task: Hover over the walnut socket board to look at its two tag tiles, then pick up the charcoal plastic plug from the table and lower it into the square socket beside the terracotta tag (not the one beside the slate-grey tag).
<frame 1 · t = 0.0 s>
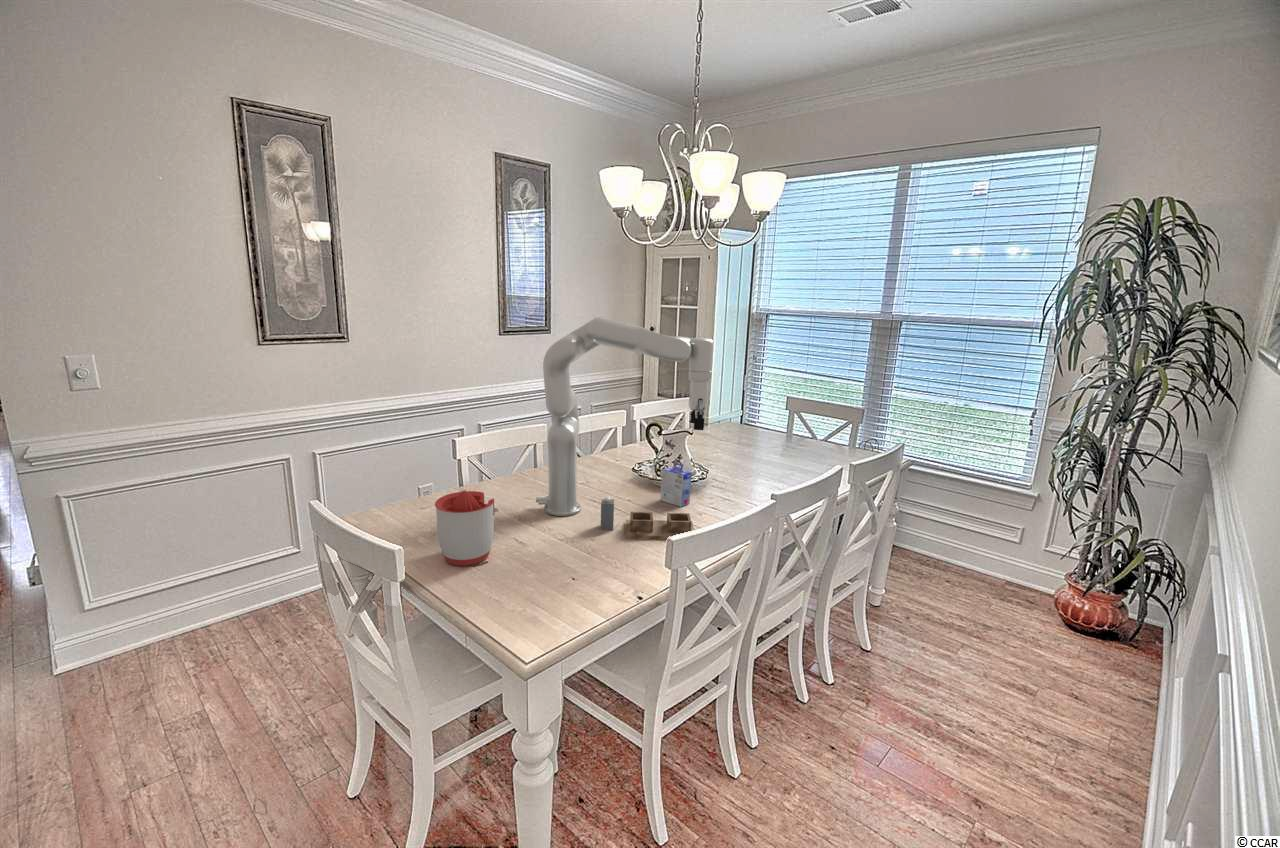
hand: (696, 426, 188), 31 cm above the table, fingers open, 9 cm apart
citrus juicer: (470, 556, 159), on the table
socket board: (659, 531, 180), on the table
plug: (607, 527, 181), on the table
ink cartridge box: (675, 502, 205), on the table
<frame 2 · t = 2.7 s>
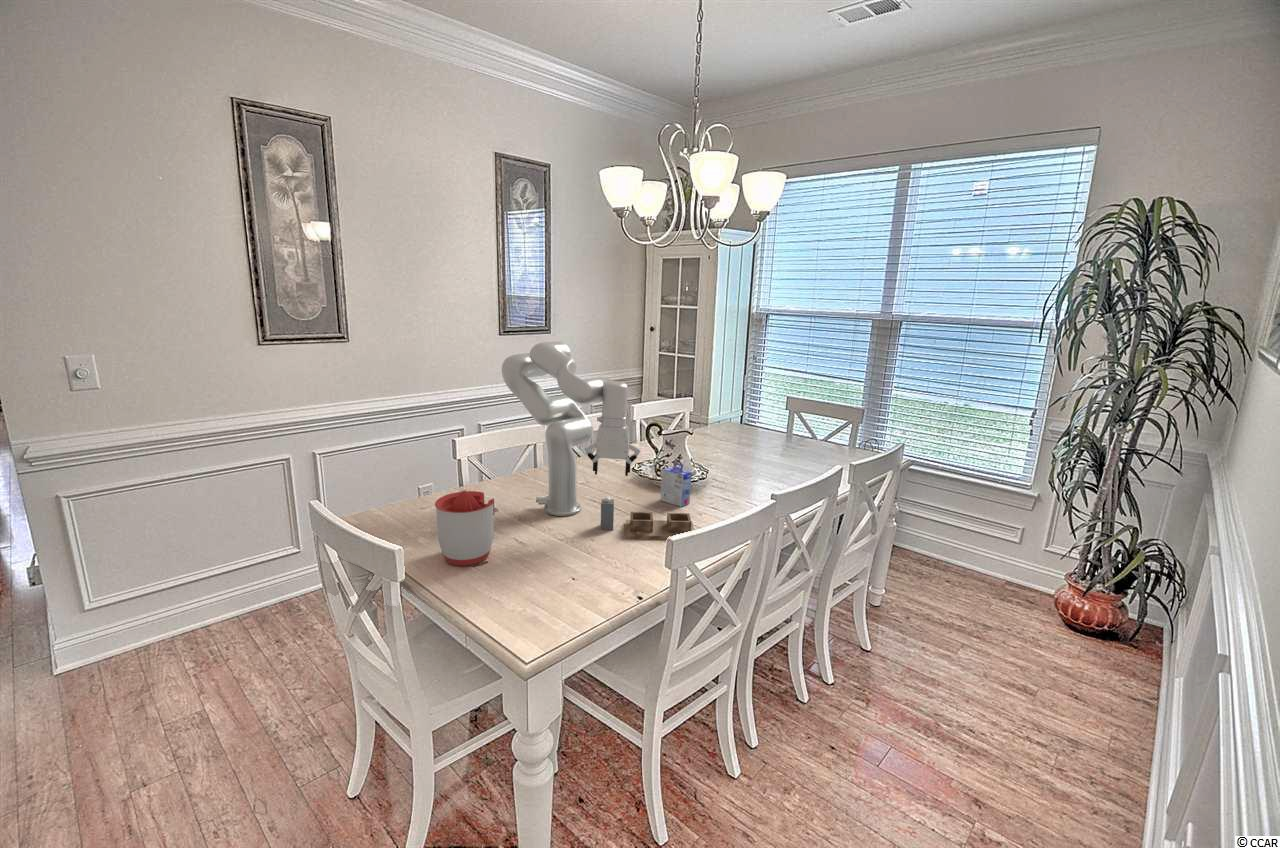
hand: (611, 473, 177), 18 cm above the table, fingers open, 9 cm apart
nothing on the table moved.
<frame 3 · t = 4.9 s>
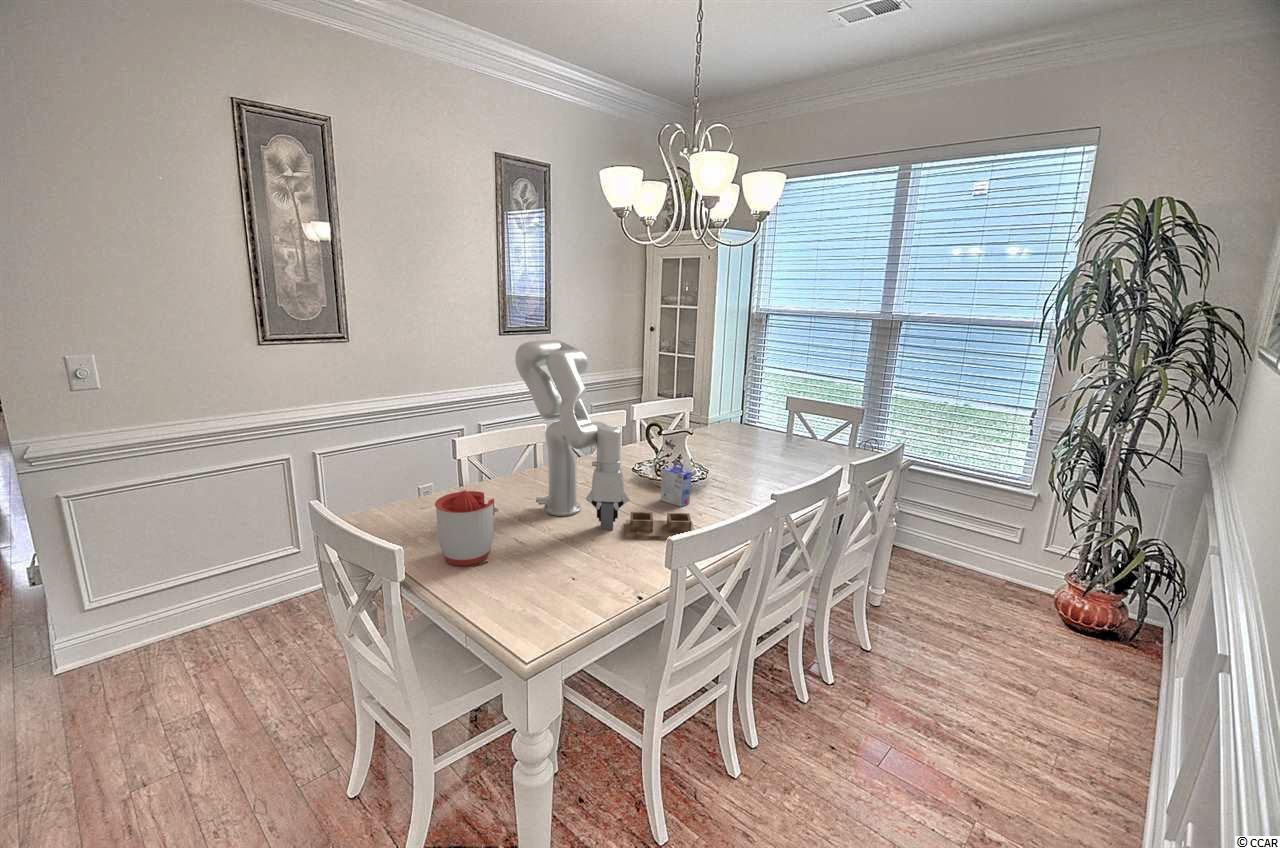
hand: (607, 519, 181), 3 cm above the table, fingers closed on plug, 4 cm apart
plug: (607, 527, 181), on the table, touching gripper
everything else where it was.
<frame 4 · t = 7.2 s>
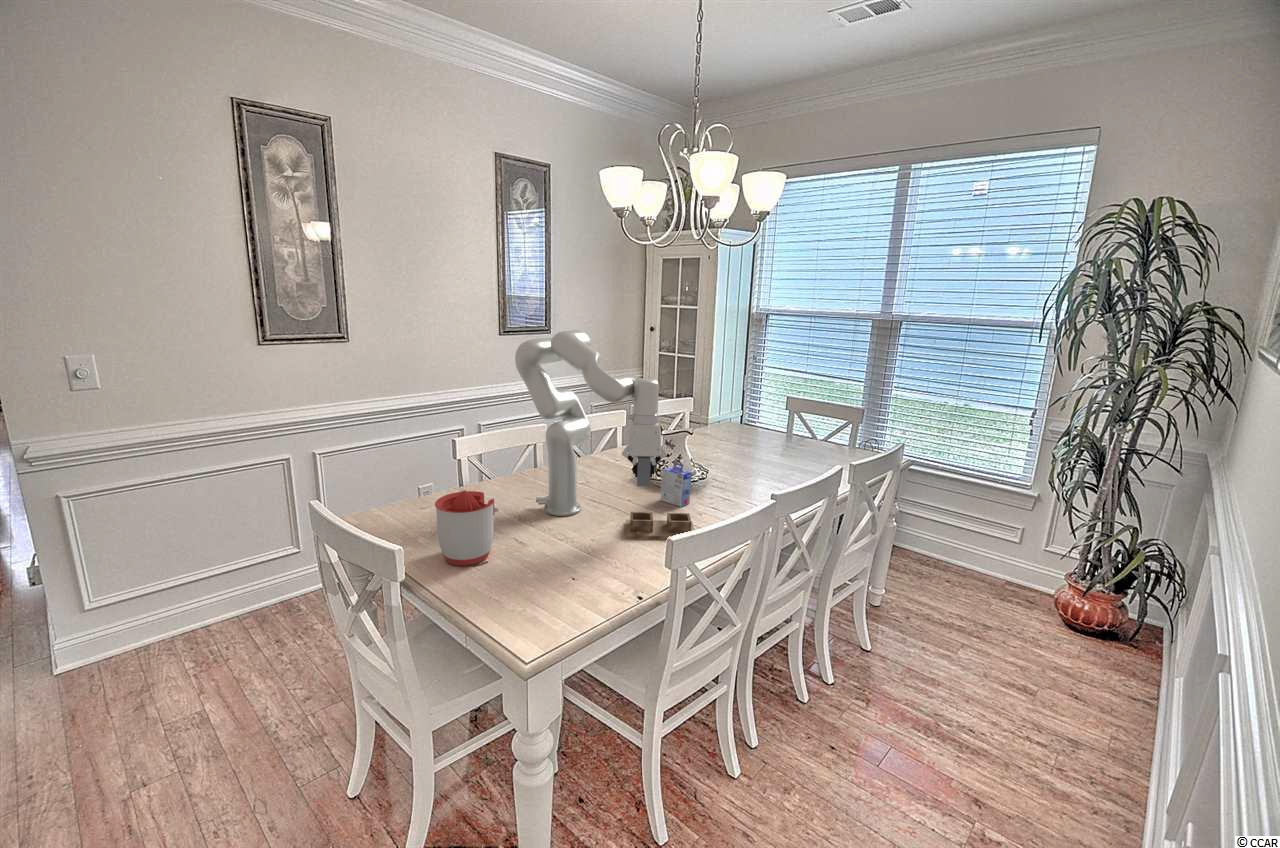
hand: (643, 475, 175), 19 cm above the table, fingers closed on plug, 4 cm apart
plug: (643, 484, 176), point 16 cm above the table, touching gripper
everything else where it was.
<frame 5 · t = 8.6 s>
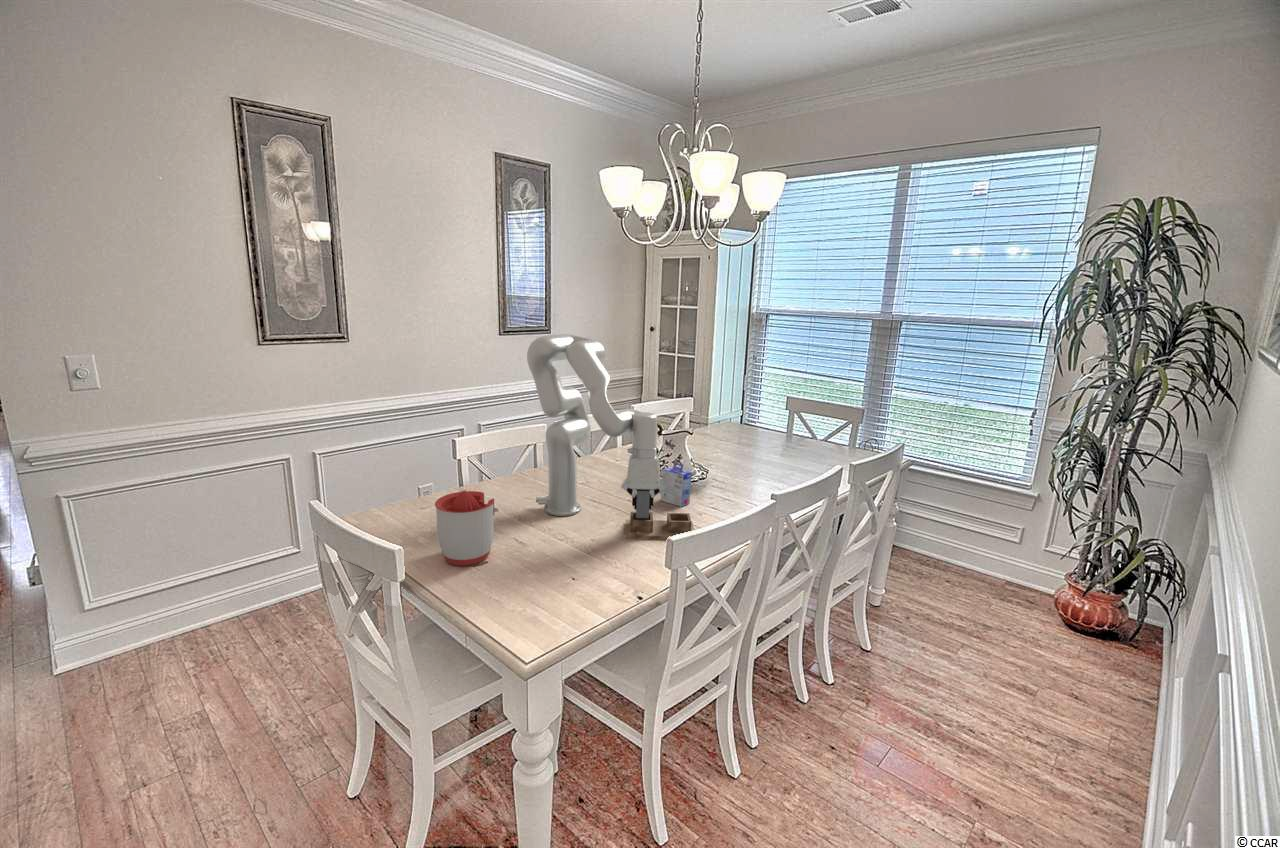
hand: (642, 507, 178), 8 cm above the table, fingers closed on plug, 4 cm apart
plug: (642, 515, 178), point 5 cm above the table, touching gripper
everything else where it was.
when the fingers open (6 cm above the table, at t = 9.6 s): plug drops 2 cm, resting on socket board.
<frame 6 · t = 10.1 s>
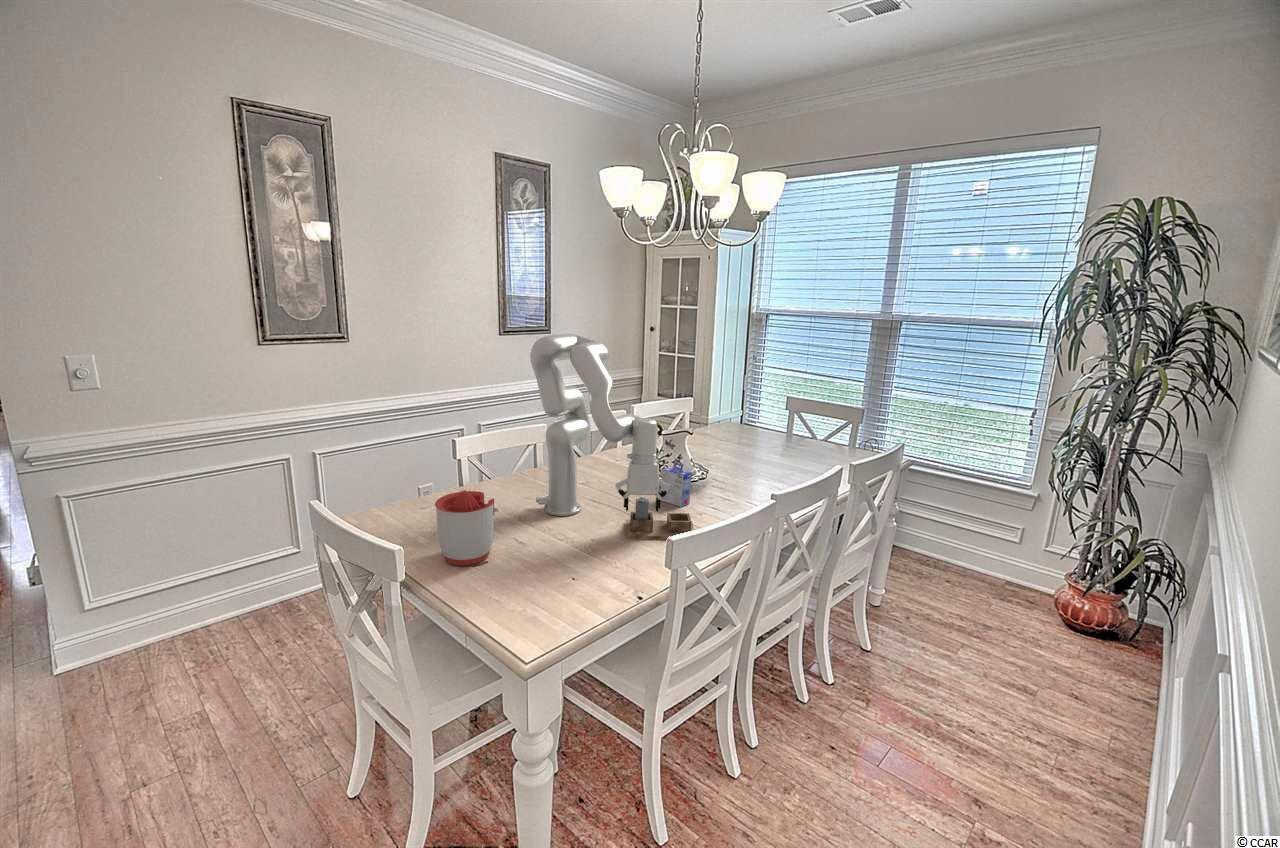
hand: (641, 509, 178), 7 cm above the table, fingers open, 9 cm apart
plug: (641, 527, 179), point 1 cm above the table, touching socket board
everything else where it was.
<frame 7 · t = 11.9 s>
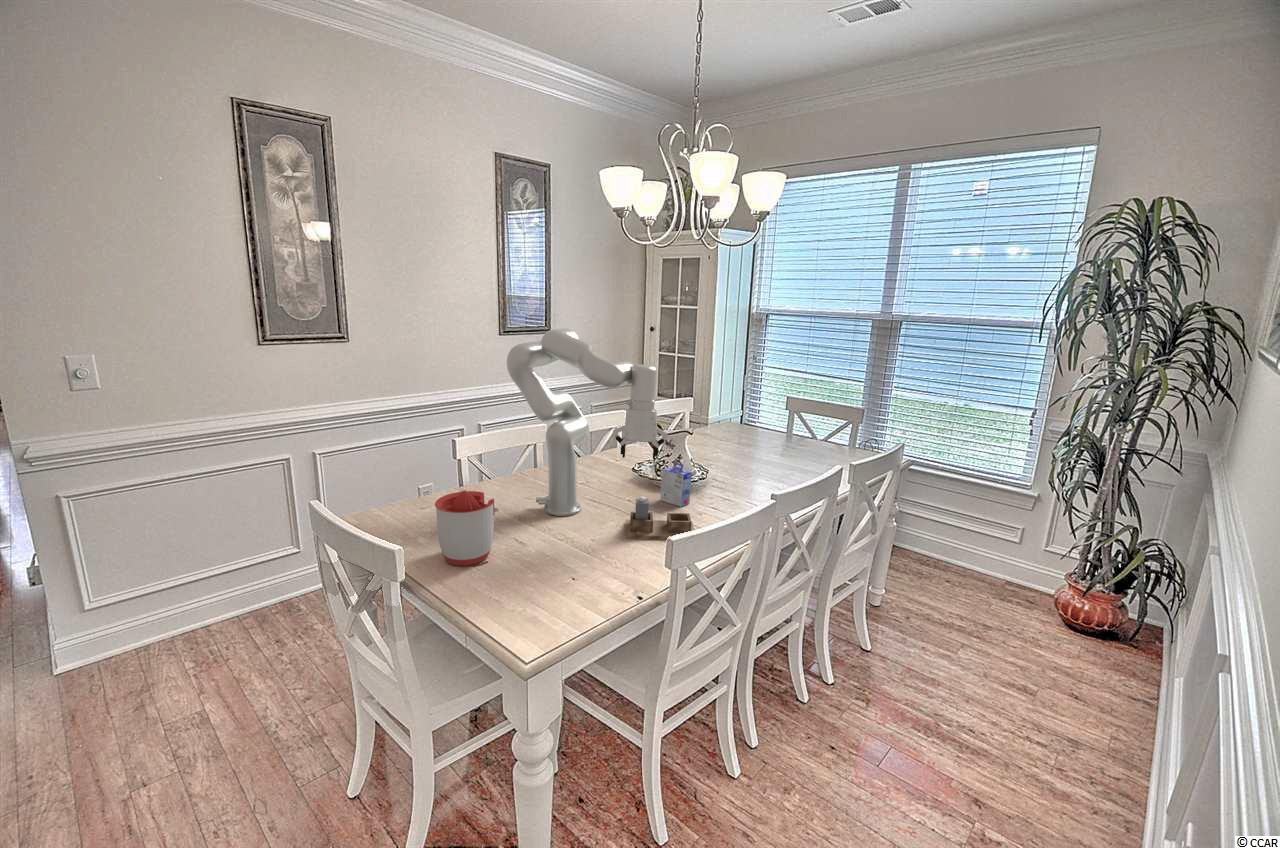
hand: (638, 457, 178), 23 cm above the table, fingers open, 9 cm apart
nothing on the table moved.
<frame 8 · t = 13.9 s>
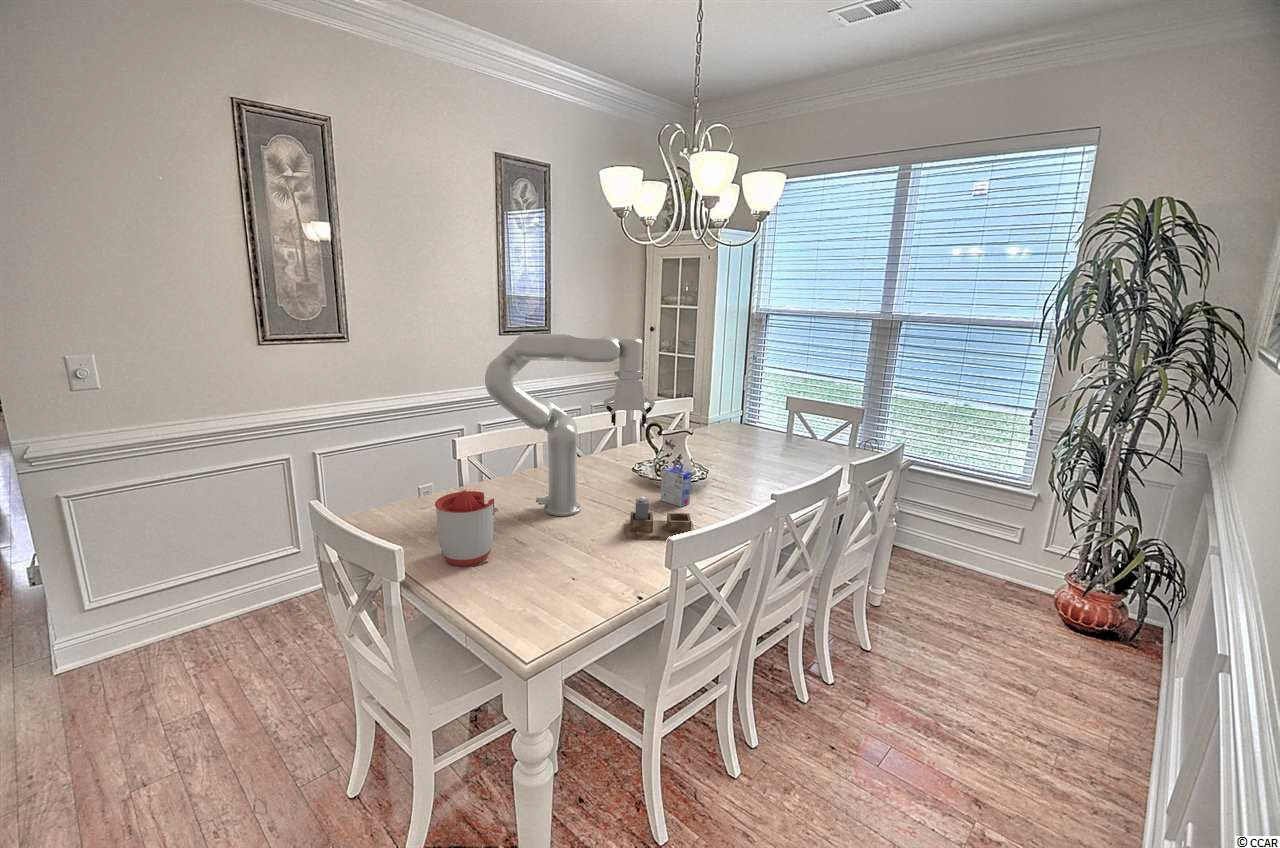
hand: (628, 425, 190), 30 cm above the table, fingers open, 9 cm apart
nothing on the table moved.
at the end: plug 0.1 cm from the target spot on the socket board, point 1.2 cm above the socket board's base; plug tilted 0°; the gripper is holding nothing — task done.
